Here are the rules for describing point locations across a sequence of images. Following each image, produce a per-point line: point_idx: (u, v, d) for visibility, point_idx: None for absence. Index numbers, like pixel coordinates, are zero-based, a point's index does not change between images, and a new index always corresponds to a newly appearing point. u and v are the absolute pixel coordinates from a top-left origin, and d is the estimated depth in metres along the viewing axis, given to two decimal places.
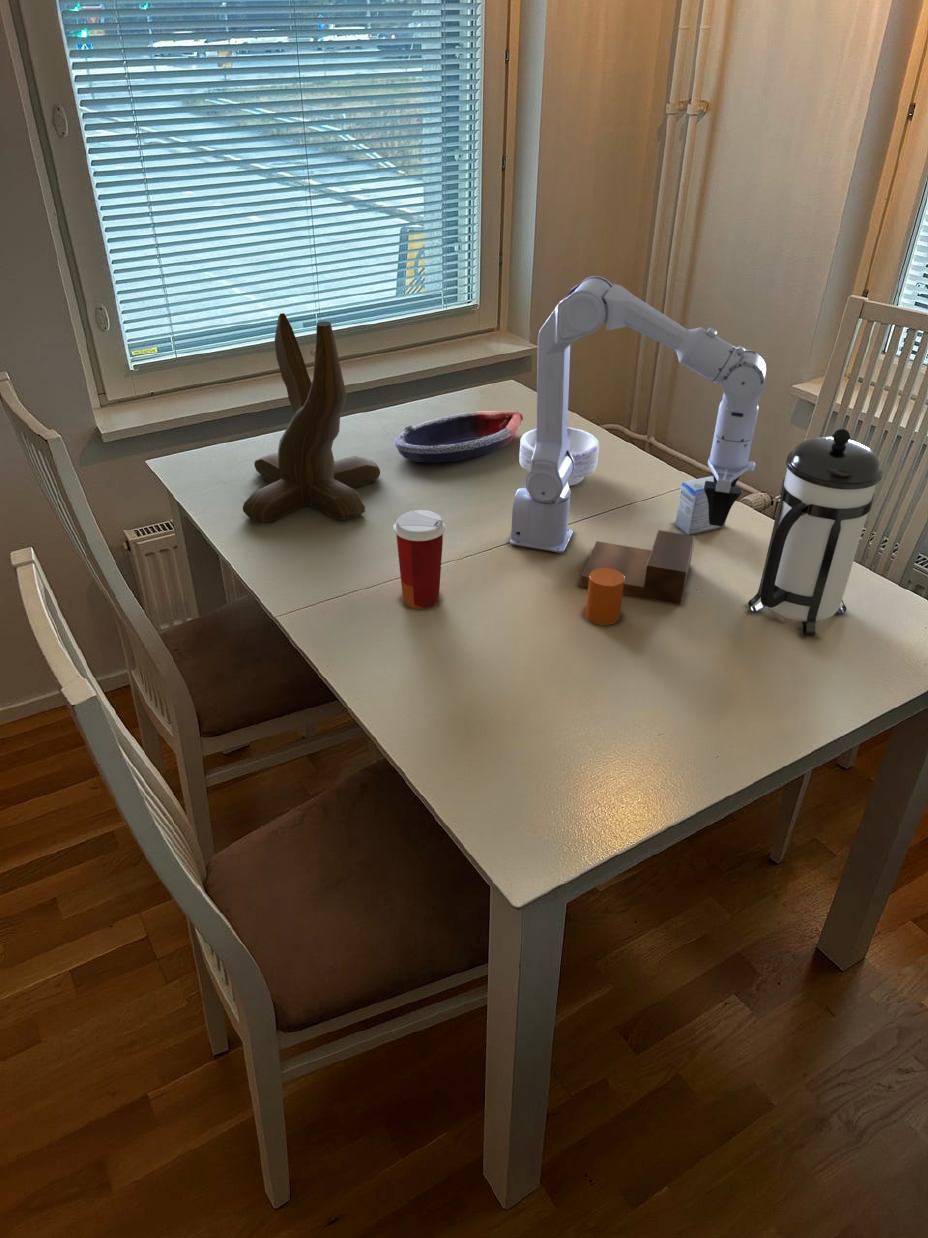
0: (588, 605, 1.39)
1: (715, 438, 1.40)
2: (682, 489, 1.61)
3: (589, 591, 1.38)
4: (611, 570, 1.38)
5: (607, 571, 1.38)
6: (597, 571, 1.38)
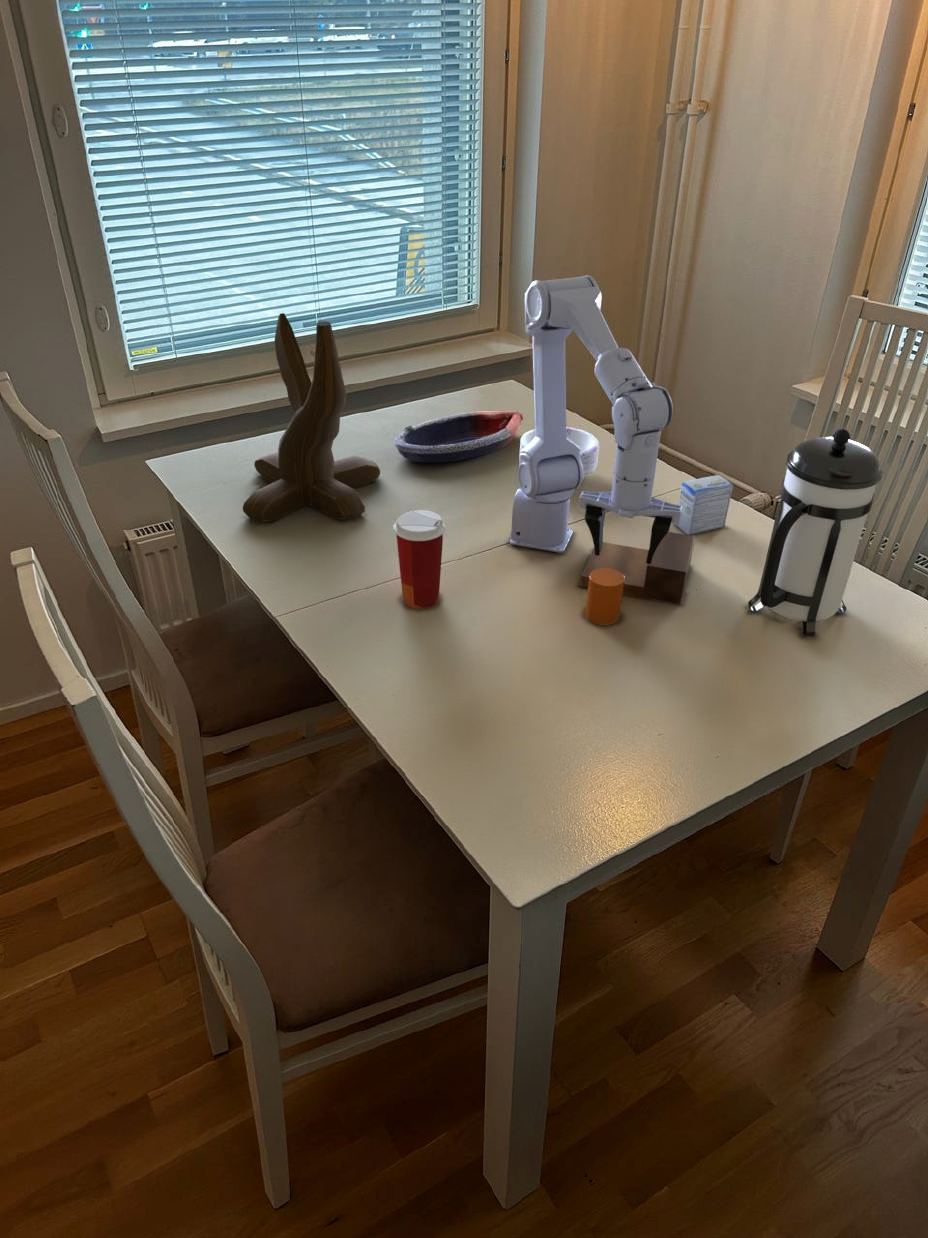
0: (588, 605, 1.39)
1: None
2: (682, 489, 1.61)
3: (589, 591, 1.38)
4: (611, 570, 1.38)
5: (607, 571, 1.38)
6: (597, 571, 1.38)
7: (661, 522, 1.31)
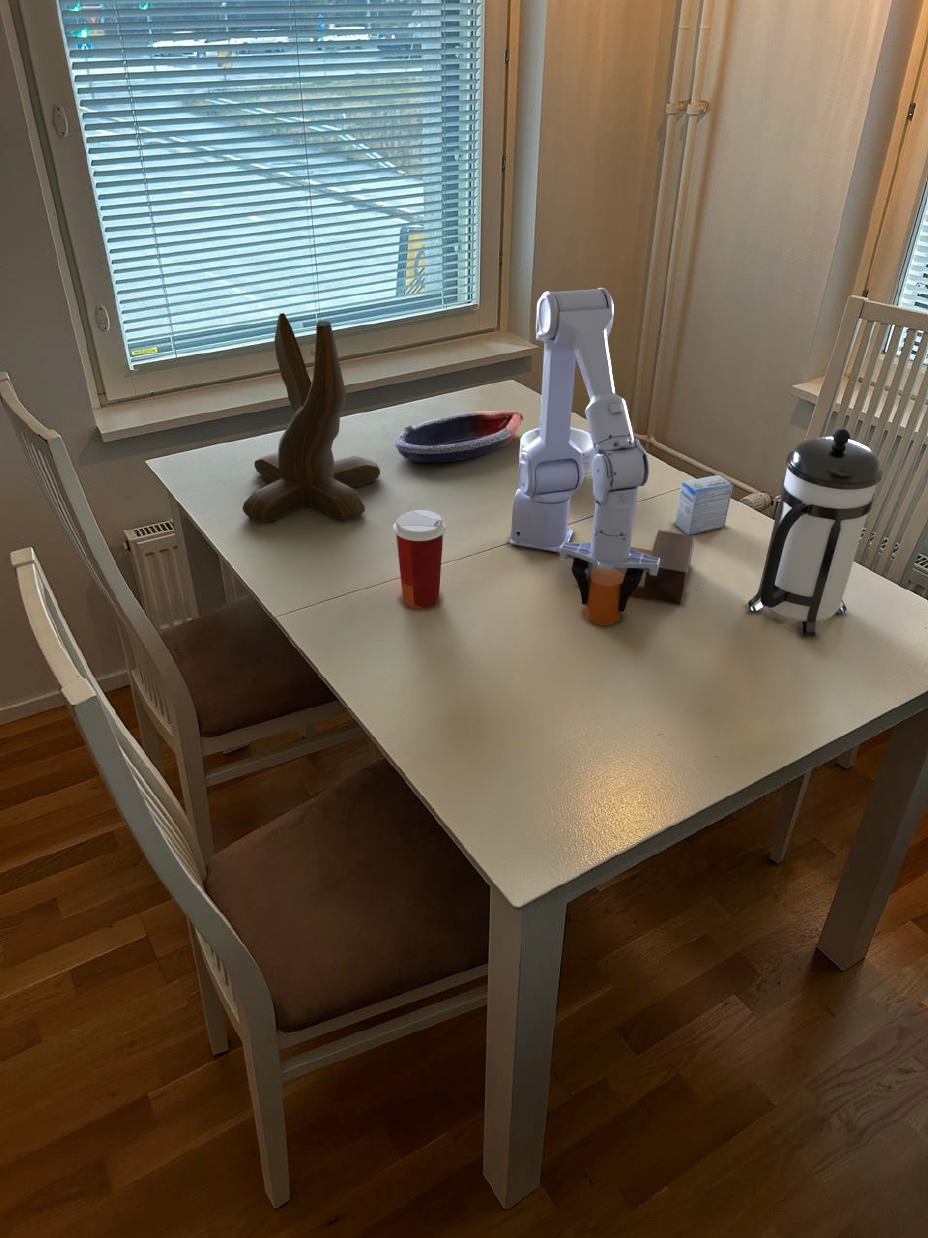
0: (588, 605, 1.39)
1: None
2: (682, 489, 1.61)
3: (589, 591, 1.38)
4: (611, 570, 1.38)
5: (608, 571, 1.38)
6: (597, 571, 1.38)
7: (633, 573, 1.34)
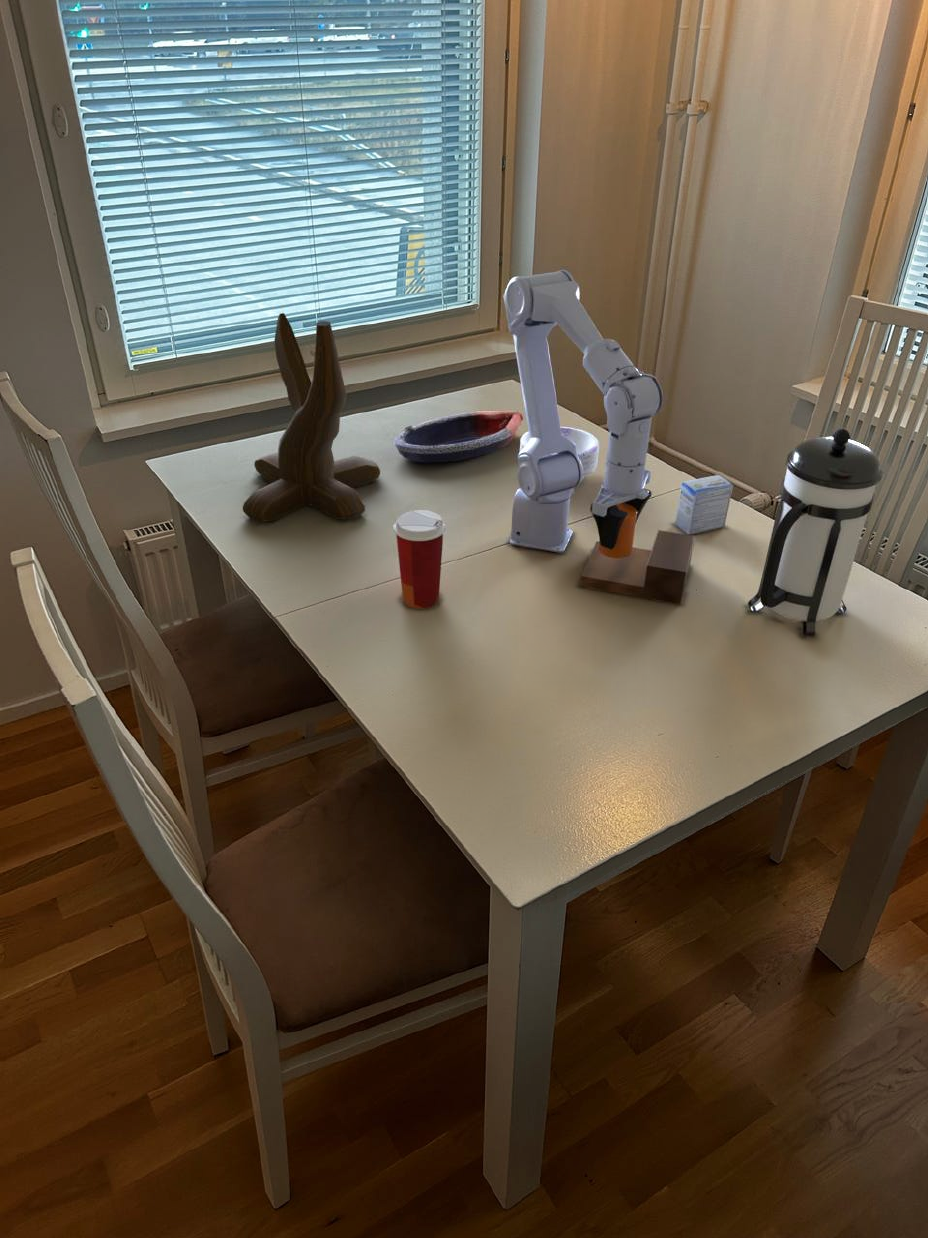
0: (618, 545, 1.40)
1: (606, 460, 1.35)
2: (682, 489, 1.61)
3: (619, 531, 1.39)
4: None
5: None
6: None
7: None
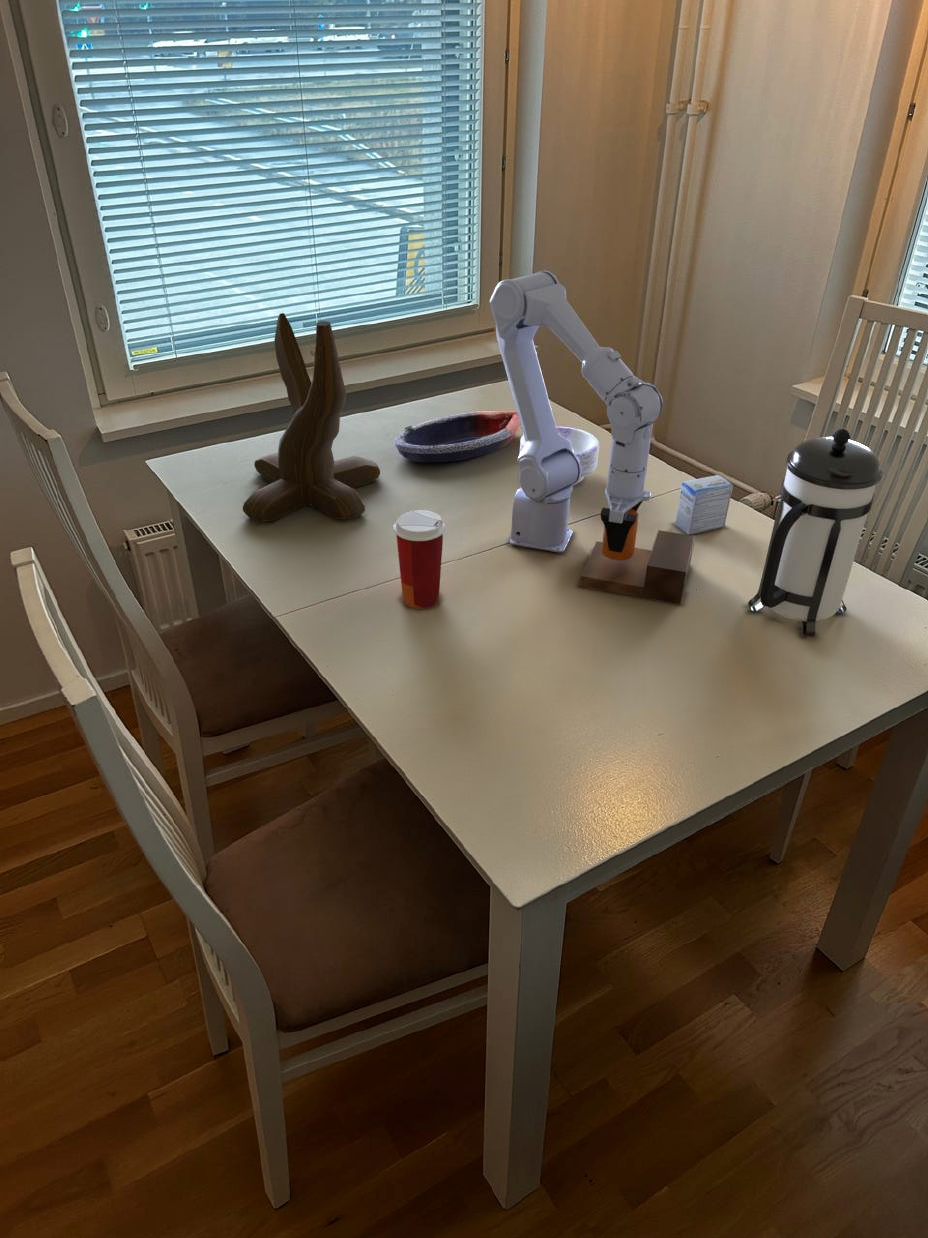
0: (625, 547, 1.46)
1: (610, 468, 1.40)
2: (682, 489, 1.61)
3: None
4: None
5: None
6: None
7: None
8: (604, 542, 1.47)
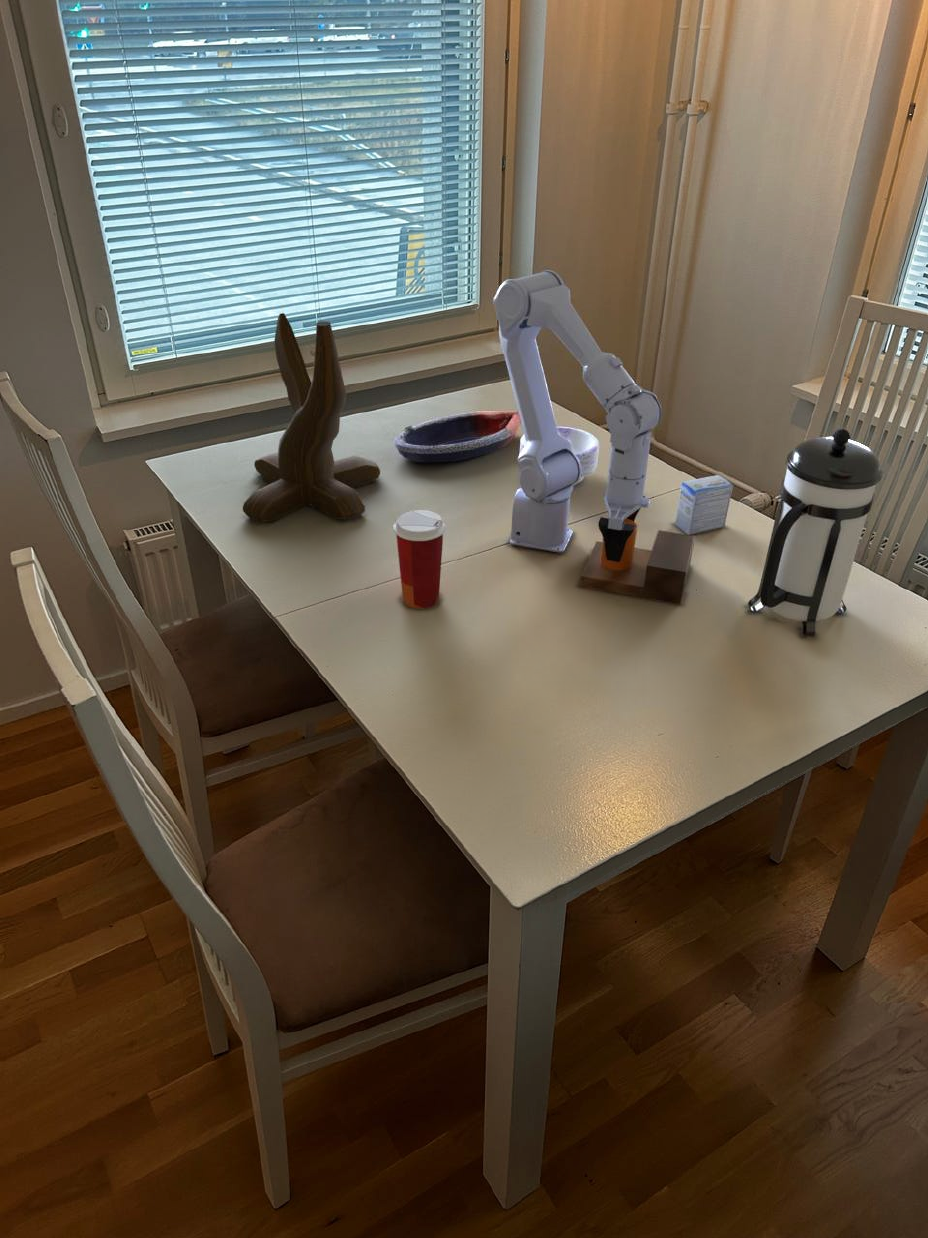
0: (624, 558, 1.47)
1: (609, 475, 1.41)
2: (682, 489, 1.61)
3: (625, 545, 1.45)
4: None
5: None
6: None
7: None
8: (603, 553, 1.48)
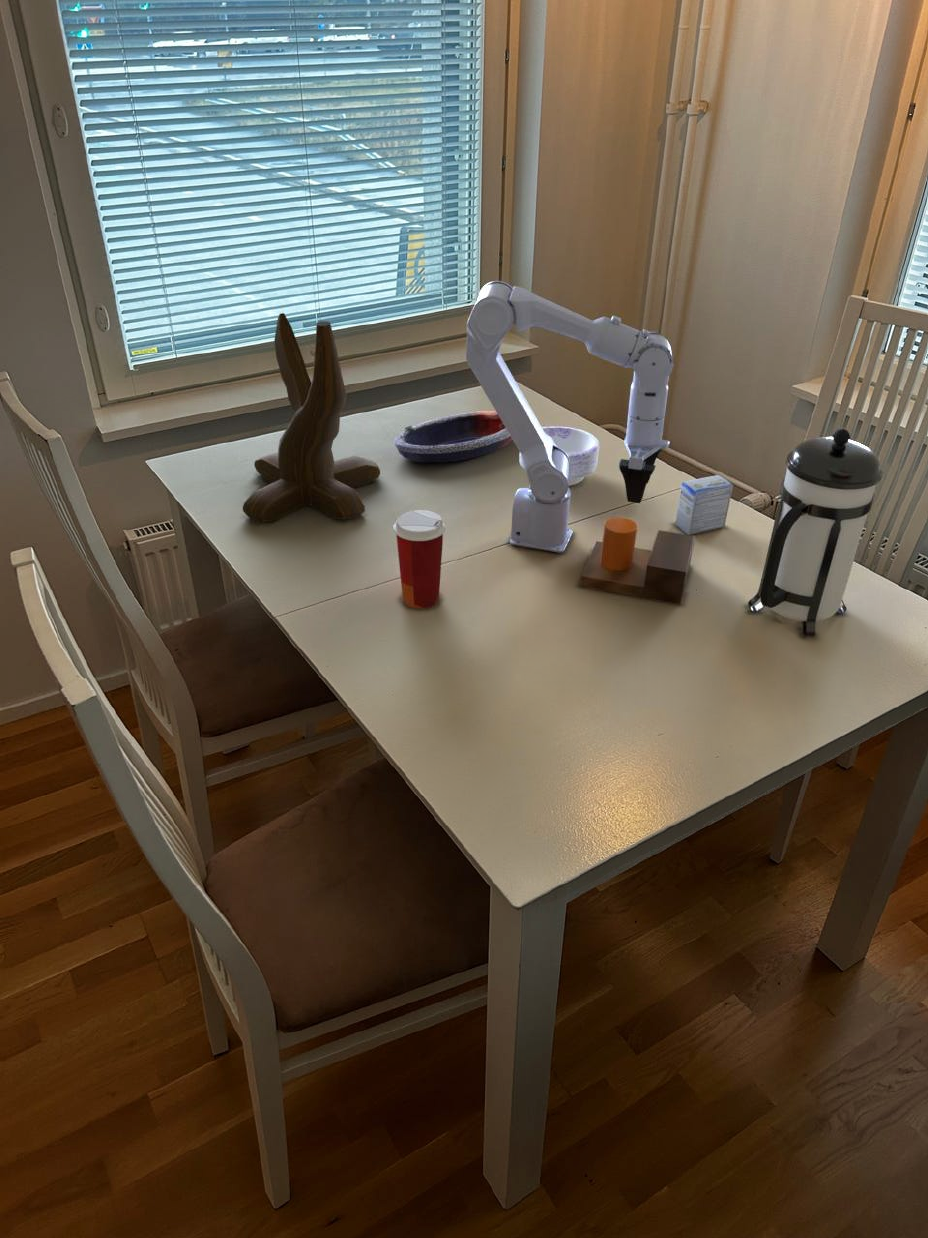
0: (624, 558, 1.47)
1: (629, 418, 1.45)
2: (682, 489, 1.61)
3: (625, 545, 1.45)
4: (609, 522, 1.47)
5: (612, 523, 1.46)
6: (612, 528, 1.45)
7: None
8: (603, 553, 1.48)
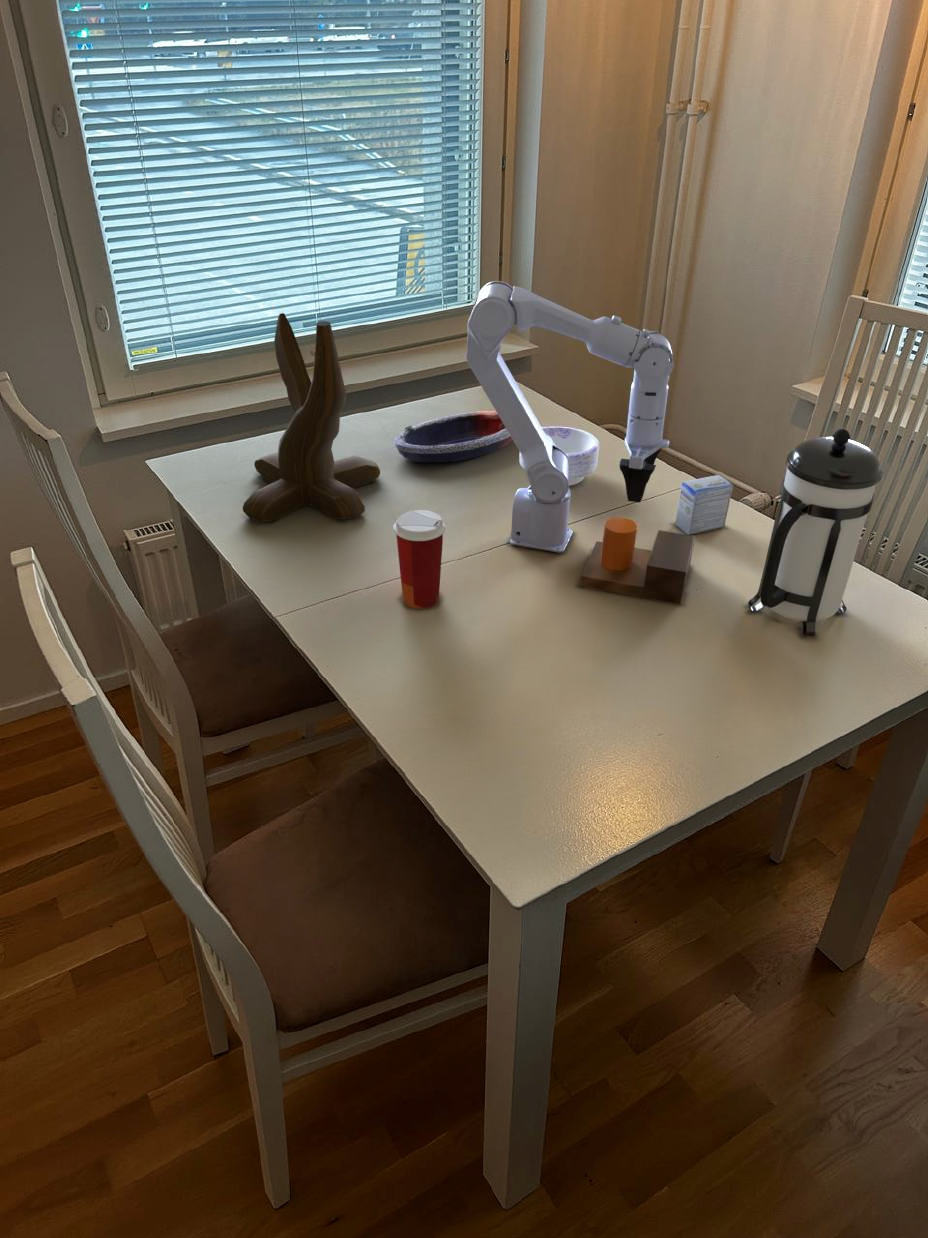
0: (624, 558, 1.47)
1: (629, 417, 1.45)
2: (682, 489, 1.61)
3: (625, 545, 1.45)
4: (609, 522, 1.47)
5: (612, 523, 1.46)
6: (612, 528, 1.45)
7: None
8: (603, 553, 1.48)
